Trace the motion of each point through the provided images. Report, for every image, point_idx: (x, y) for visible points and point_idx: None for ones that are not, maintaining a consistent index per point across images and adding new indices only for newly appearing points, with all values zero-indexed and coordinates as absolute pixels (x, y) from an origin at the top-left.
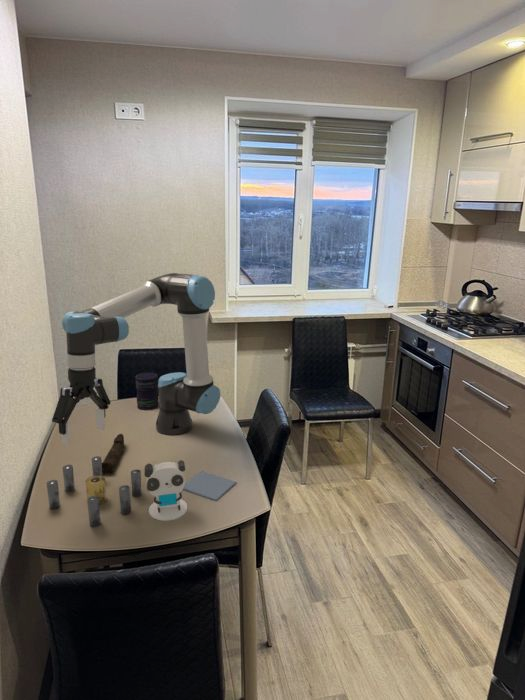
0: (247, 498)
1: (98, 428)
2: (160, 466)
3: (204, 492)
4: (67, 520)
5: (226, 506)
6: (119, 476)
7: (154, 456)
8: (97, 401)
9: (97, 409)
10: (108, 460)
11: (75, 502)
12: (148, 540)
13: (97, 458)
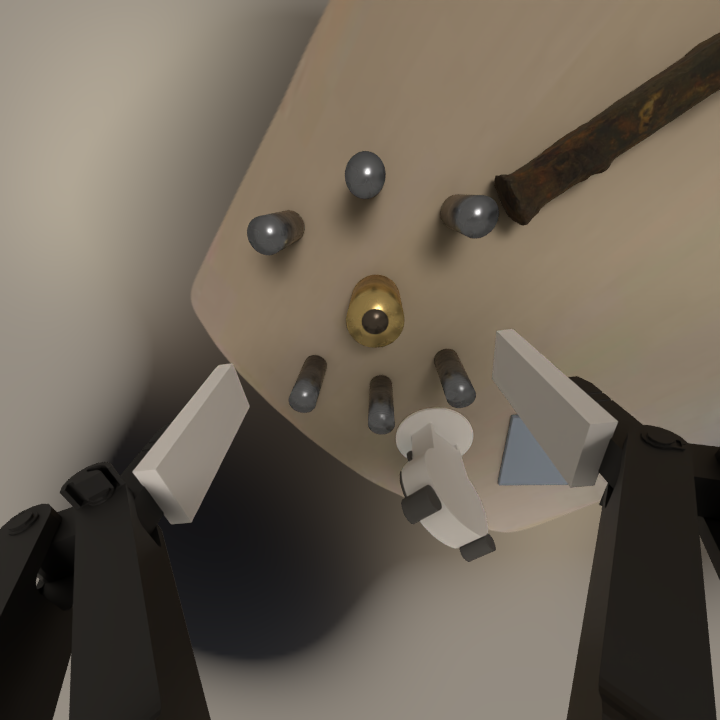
0: (528, 511)
1: (495, 348)
2: (442, 528)
3: (513, 461)
4: (282, 308)
5: (489, 498)
6: (504, 251)
7: (673, 246)
8: (590, 594)
9: (579, 435)
10: (543, 187)
11: (336, 259)
12: (344, 460)
13: (480, 221)
